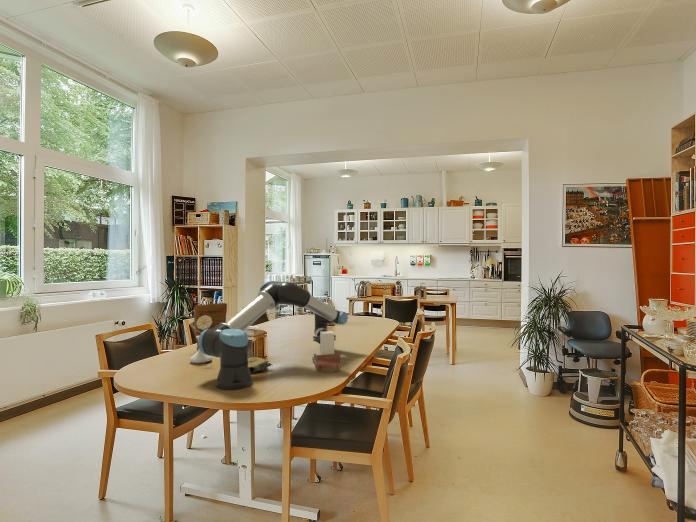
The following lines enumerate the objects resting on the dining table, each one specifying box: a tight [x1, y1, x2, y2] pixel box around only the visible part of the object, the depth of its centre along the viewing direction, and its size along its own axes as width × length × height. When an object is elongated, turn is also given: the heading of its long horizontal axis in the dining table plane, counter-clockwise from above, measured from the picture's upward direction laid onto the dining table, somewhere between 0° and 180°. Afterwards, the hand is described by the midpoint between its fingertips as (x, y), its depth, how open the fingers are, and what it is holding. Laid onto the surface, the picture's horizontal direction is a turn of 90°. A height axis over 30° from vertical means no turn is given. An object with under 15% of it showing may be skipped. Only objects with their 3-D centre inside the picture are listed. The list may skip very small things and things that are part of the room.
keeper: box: [319, 330, 335, 355], centre depth 200 cm, size 6×6×16 cm
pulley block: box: [248, 356, 273, 374], centre depth 205 cm, size 14×6×30 cm
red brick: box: [311, 353, 341, 373], centre depth 207 cm, size 24×11×8 cm, turn 11°
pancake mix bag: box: [193, 302, 228, 352], centre depth 245 cm, size 7×19×28 cm, turn 111°
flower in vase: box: [189, 315, 213, 364], centre depth 216 cm, size 13×11×25 cm
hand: (328, 344), depth 211 cm, fingers closed
